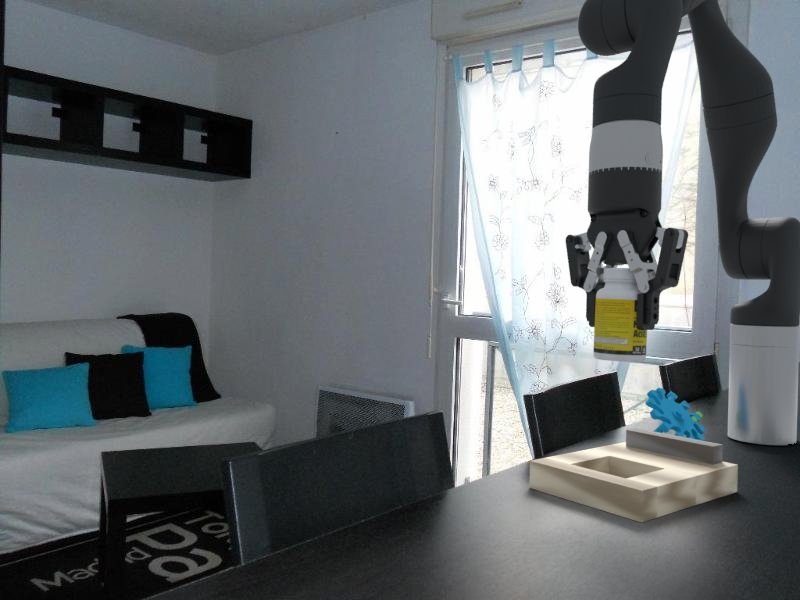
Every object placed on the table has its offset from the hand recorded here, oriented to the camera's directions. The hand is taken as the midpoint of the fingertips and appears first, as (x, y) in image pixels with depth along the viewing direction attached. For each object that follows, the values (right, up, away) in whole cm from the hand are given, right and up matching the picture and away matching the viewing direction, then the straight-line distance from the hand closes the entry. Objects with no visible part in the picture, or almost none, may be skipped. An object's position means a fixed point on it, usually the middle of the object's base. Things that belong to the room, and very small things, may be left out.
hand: (620, 327), depth 75 cm
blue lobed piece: (+17, -18, +28) cm, 38 cm away
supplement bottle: (0, -4, 0) cm, 4 cm away
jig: (+2, -18, +2) cm, 18 cm away
